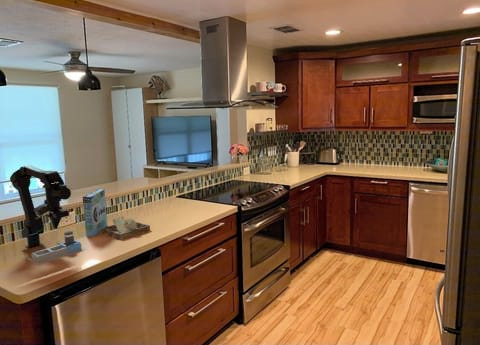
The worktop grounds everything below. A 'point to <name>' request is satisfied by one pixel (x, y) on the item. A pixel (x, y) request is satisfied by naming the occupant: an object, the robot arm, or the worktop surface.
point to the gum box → (95, 212)
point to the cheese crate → (111, 232)
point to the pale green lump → (124, 224)
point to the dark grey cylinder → (69, 238)
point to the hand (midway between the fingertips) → (55, 228)
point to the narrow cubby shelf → (55, 252)
